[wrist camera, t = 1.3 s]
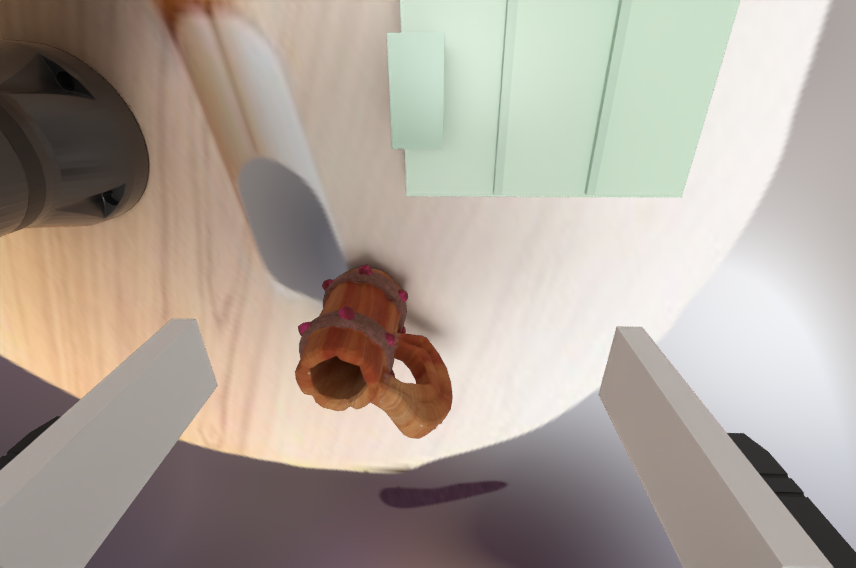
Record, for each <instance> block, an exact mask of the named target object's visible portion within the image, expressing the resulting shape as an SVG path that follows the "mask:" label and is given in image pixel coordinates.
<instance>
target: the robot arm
mask: <svg viewBox="0 0 856 568" xmlns="http://www.w3.org/2000/svg"><path fill="white" fill-rule="evenodd" d="M147 177H148V157H147V151H146V146H145V143H144V139H143V137H142V134H141V131H140V129H139V127H138V124H137V122H136V120H135V118H134V117H133V115H132V113H131V111H130V110H129V108H128V107H127V105H126V104H125V102H124V101H123V100H122V98H121V97H120V96H119V95H118V93H117V92H116V91H115V90H114V89H113V88H112V87H111V85H110V84H109V83H108V82H107V81H106V80H105V79H103V78H102V77H101V76H100V75H99V74H98V73H97V72H95V71H94V70H93V69H92V68H90V67H89V66H88V65H86V64H85V63H83V62H82V61H80V60H79V59H77V58H75V57H74V56H72V55H70V54H68V53H66V52H64V51H62V50H59V49H57V48H54V47H51V46H48V45H45V44H40V43H35V42H27V41H15V40H0V237H1V236H4V235H6V234H9V233H12V232H14V231H17V230H20V229H23V228H38V227H69V226H88V225H93V224H98V223H101V222H104V221H106V220H109V219H111V218H114V217H116V216H118V215H121V214H123V213H125V212H126V211H128V210H129V209H131V208H132V207H133V206H134V205H135V204H136V203H137V201H138V200H139V199H140V197H141V196H142V194H143V192H144V189H145V186H146V182H147ZM217 386H218V385H217V382H216V379H215V376H214V373H213V370H212V367H211V364H210V361H209V358H208V355H207V351H206V348H205V345H204V342H203V339H202V336H201V333H200V330H199V327H198V324H197V321H196V319H171V320H170V321H169V322H168V323H167V324H165V325H164V326H163V327H162V328H161V329H160V330H159V331H158V332H156V333H155V334H154V335H153V336H152V337H151V338H150V339H148V340H147V341H146V342H145V343H144V344H143V345H142V346H141V347H139V348H138V349H137V350H136V351H135V352H134V353H133V354H132V355H130V356H129V357H128V358H127V359H126V360H125V361H124V362H122V363H121V364H120V365H119V366H118V367H117V368H116V369H115V370H113V371H112V372H111V373H110V374H109V375H108V376H107V377H106V378H104V379H103V380H102V381H101V382H100V383H99V384H98V385H96V386H95V387H94V388H93V389H92V390H91V391H90V392H89V393H87V394H86V395H85V396H84V397H83V398H82V399H81V400H80V401H78V402H77V403H76V404H75V405H74V406H73V407H72V408H70V409H69V410H68V411H67V412H66V413H65V414H64V415H63V416H61V417H58V416H57V417H55V418H54V419H52V420H50V421H49V422H47V423H45V424H44V425H42V426H40V427H39V428H37V429H35V430H34V431H32V432H30V433H29V434H28V435H27V436H25V437H24V438H23V439H22V440H21V441H20V442H18V443H17V444H16V445H15V446H14V447H13V448H11V449H10V450H9V451H8V452H7V455H6V456H2V457H1V458H0V568H84V567H85V565H86V564H87V563H88V561H89V560H90V558H91V557H92V556H93V554H94V553H95V552H96V550H97V549H98V547H99V546H100V545H101V543H102V542H103V541H104V539H105V538H106V537H107V535H108V534H109V533H110V531H111V530H112V529H113V527H114V526H115V524H116V523H117V522H118V520H119V519H120V518H121V516H122V515H123V514H124V512H125V511H126V509H127V508H128V507H129V505H130V504H131V503H132V501H133V500H134V499H135V497H136V496H137V495H138V493H139V492H140V491H141V489H142V488H143V486H144V485H145V484H146V482H147V481H148V479H149V478H150V477H151V476H152V474H153V473H154V472H155V470H156V469H157V467H158V466H159V465H160V463H161V462H162V461H163V459H164V458H165V457H166V455H167V454H168V452H169V451H170V450H171V448H172V447H173V446H174V444H175V443H176V442H177V440H178V439H179V438H180V436H181V435H182V433H183V432H184V431H185V429H186V428H187V427H188V425H189V424H190V423H191V421H192V420H193V419H194V417H195V416H196V414H197V413H198V412H199V410H200V409H201V408H202V406H203V405H204V404H205V402H206V401H207V400H208V398H209V397H210V395H211V394H212V393H213V391H214V390H215V389H216V387H217ZM599 396H600V398H601V400H602V403H603V404H604V406H605V408H606V411H607V413H608V415H609V417H610V419H611V421H612V423H613V425H614V427H615V429H616V431H617V433H618V435H619V437H620V439H621V441H622V443H623V445H624V447H625V449H626V451H627V454H628V456H629V458H630V460H631V462H632V464H633V466H634V468H635V470H636V472H637V474H638V476H639V478H640V480H641V482H642V484H643V486H644V488H645V491H646V492H647V494H648V497H649V499H650V501H651V503H652V505H653V507H654V509H655V511H656V513H657V515H658V517H659V519H660V521H661V523H662V525H663V527H664V529H665V531H666V533H667V536H668V537H669V540H670V542H671V544H672V546H673V548H674V550H675V552H676V554H677V556H678V558H679V560H680V562H681V564H682V566H683V568H856V552H855V551H854V550H853V549H852V548H851V546H850V545H849V544H848V543H847V542H846V541H845V540H844V538H843V537H842V536H841V535H840V534H839V533H838V532H837V530H836V529H835V528H834V527H833V526H832V524H830V522H829V521H828V520H827V519H826V518H825V517H824V515H823V514H822V513H821V512H820V511H819V510H818V508H817V507H816V506H815V505H814V504H813V503H812V502H811V500H810V499H809V498H808V497H805V496H804V493H803V491H802V490H801V489H800V488H799V486H798V485H797V484H796V483H795V482H794V481H793V480H792V479H791V478H788V474H787V473H786V472H785V470H784V469H783V468H782V467H781V466H780V465H779V464H778V462H777V461H776V460H775V459H774V458H773V457H772V456H771V454H770V453H769V452H768V451H766V450H765V449H764V448H762V447H761V446H760V445H758V444H757V443H756V442H754V441H753V440H752V439H750V438H749V437H748V436H746V435H745V434H743V433H726V432H725V430H724V429H723V428H722V427H721V425H720V424H719V423H718V422H717V420H716V419H715V418H714V417H713V415H712V414H711V413H710V412H709V410H708V409H707V408H706V407H705V405H704V404H703V403H702V401H701V400H700V399H699V398H698V396H697V395H696V394H695V393H694V391H692V389H691V388H690V386H689V385H688V384H687V383H686V381H685V380H684V379H683V378H682V376H681V375H680V374H679V373H678V371H677V370H676V369H675V368H674V366H673V365H672V364H671V363H670V361H669V360H668V359H667V358H666V356H665V355H664V354H663V353H662V352H661V350H660V349H659V347H658V346H657V345H656V344H655V342H654V341H653V340H652V339H651V337H650V336H649V335H648V334H647V332H646V331H645V330H644V329H643V327H616V331H615V335H614V338H613V342H612V346H611V350H610V353H609V357H608V361H607V365H606V369H605V372H604V376H603V380H602V384H601V387H600V391H599Z"/></svg>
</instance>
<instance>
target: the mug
mask: <svg viewBox="0 0 856 568" xmlns="http://www.w3.org/2000/svg"><path fill="white" fill-rule="evenodd" d="M322 287H323V289H324V290H325V295H324V299H323V310H322V312H321V314H320V316H319V317H317V318H316V319H314V320H313V321H312V322H305V323H302V324H301V325H299V326H298V330H299V333H300V335H301V336H302V337H301V340H300V343H299V353H300V358H301V359H300V361H299V364H298V366H297V368H296V371H295V375H296V380H297V383H298V385H299V387H300V389H301V391H302V392H303V393H304V394H307V395H312V396H313V397H314V399H315V402H316V403H318V404H319V405H320V406H322V407H323V408H327V409H331V410H335V411H343V410H345V409H347V408H348V407H350V406H351V407H353V408H355V409H360V408H362V407H365V406H366V405H368V404H369V403H370V402H371V403H372V404H374V405H376V406H378V407H379V408H381V409H382V410H383V411H385V412H386V413H387V414H388V416H389V417H390V418H391V420H392V421H393V422H394V423H395V425H396V426H397V427H398V429H399V430H400V431H401V432H402V433H403V434H404V435H406V436H408V437H410V438H417V439H419V438H421V437H423V436H425V435H427V434H428V433H430V432H431V431H432V430H434V429H436V427H437V426H438V424H441V423H442V421H443V420H444V419H445V418H446V416H447V414H448V413H449V411H450V409H451V404H452V388H451V381H450V378H449V374H448V371H447V368H446V366H445V364H444V362H443V361H442V359H441V357H440V355H439V353H438V352H437V351H436V349H435V348H434V347H433V345H432V344H431V343H430V342H429V340H428V339H427V338H426V337H424V336H421V335H411V334H405V327H404V321H405V318H406V312H407V310H406V300H407V299H408V294H407V292H406V291H404V290H402V289H401V288H400V286H399V285H398V284H397V283H396V282H395V281H394V280H393V279H392V277H390V276H389V275H388V274H386V273H385V272H383V271H381V270H378V269H371V268H370V266H368V265H362V266H361V267H359V268H357V269H352V270H349V271H347V272H345V273H343V274H342V275H340V276H339V277H337V278H336V279H334V280H331V279H329V280H326V281H324V283H323V285H322ZM394 358H395V359H398V360H401V361H403V362H404V364H405V365H406V366H407V367H408V368H409V369H410V371H411V372H412V374H413V376H414V378H415V380H416V384H413V383H403V382H401V381H399V380H397V379H396V378H395V374H394V372H393V370H392V367H393V363H394Z"/></svg>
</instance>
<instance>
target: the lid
mask: <svg viewBox="0 0 856 568" xmlns="http://www.w3.org/2000/svg"><path fill="white" fill-rule="evenodd" d="M739 3H740V0H400V16H401V33H387V50H388V72H389V93H390V115H391V136H392V149H405V172H406V196H466V197H682V194H683V191H684V188H685V184H686V181H687V178H688V174H689V171H690V168H691V164H692V161H693V158H694V154H695V151H696V148H697V144H698V141H699V137H700V134H701V131H702V127H703V124H704V121H705V117H706V114H707V111H708V107H709V104H710V101H711V97H712V94H713V91H714V87H715V84H716V80H717V77H718V74H719V70H720V67H721V64H722V60H723V57H724V54H725V50H726V47H727V44H728V40H729V37H730V34H731V30H732V27H733V23H734V20H735V17H736V13H737V10H738V7H739Z"/></svg>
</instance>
